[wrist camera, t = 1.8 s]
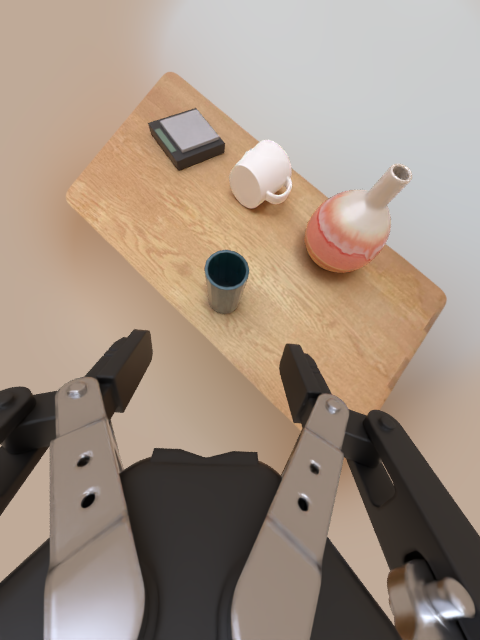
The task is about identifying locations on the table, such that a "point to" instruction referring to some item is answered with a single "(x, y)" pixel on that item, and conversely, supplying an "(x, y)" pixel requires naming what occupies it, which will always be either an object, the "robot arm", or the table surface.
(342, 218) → the vase
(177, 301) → the table surface
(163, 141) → the scale
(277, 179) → the mug
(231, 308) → the cup
